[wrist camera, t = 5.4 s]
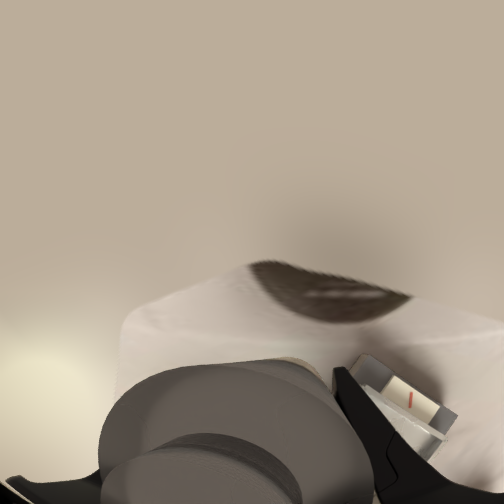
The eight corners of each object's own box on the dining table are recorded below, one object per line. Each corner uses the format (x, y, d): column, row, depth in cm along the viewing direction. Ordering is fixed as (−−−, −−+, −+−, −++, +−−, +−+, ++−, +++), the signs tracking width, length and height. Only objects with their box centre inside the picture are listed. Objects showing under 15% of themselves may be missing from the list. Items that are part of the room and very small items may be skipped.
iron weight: (339, 385, 14) (469, 499, 1) (290, 441, 14) (226, 636, 1) (280, 341, 16) (156, 278, 3) (233, 397, 15) (23, 474, 2)
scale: (442, 410, 17) (468, 419, 13) (362, 504, 15) (371, 530, 11) (361, 354, 21) (374, 354, 16) (276, 454, 19) (268, 476, 14)
